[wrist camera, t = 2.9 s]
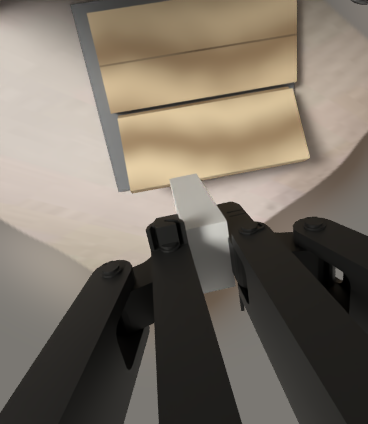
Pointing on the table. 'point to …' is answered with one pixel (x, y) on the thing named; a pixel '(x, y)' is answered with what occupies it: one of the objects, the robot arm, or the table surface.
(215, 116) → the board
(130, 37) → the floor board
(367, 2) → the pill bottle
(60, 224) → the table surface
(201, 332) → the robot arm
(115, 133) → the underlay mat
